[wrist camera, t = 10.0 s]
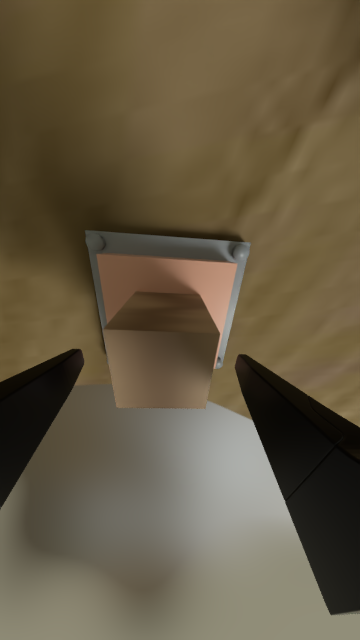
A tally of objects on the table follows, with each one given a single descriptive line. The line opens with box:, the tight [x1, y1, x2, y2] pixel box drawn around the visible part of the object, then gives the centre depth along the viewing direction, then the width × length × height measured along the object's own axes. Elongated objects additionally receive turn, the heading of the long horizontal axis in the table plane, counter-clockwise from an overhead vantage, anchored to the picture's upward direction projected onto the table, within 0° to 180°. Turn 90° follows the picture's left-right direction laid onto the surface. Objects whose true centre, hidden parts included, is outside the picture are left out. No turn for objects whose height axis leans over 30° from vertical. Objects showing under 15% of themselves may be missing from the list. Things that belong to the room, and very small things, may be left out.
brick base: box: [85, 230, 251, 369], centre depth 14 cm, size 13×13×3 cm
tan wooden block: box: [103, 291, 220, 409], centre depth 10 cm, size 5×5×6 cm
